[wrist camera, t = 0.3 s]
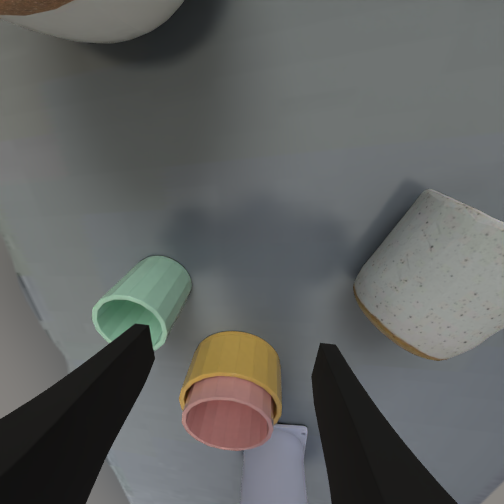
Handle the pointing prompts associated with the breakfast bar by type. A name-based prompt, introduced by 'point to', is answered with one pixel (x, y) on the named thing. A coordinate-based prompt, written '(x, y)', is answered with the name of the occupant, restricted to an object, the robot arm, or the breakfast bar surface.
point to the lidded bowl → (89, 17)
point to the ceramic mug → (436, 279)
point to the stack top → (229, 413)
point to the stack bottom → (236, 364)
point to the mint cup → (144, 300)
